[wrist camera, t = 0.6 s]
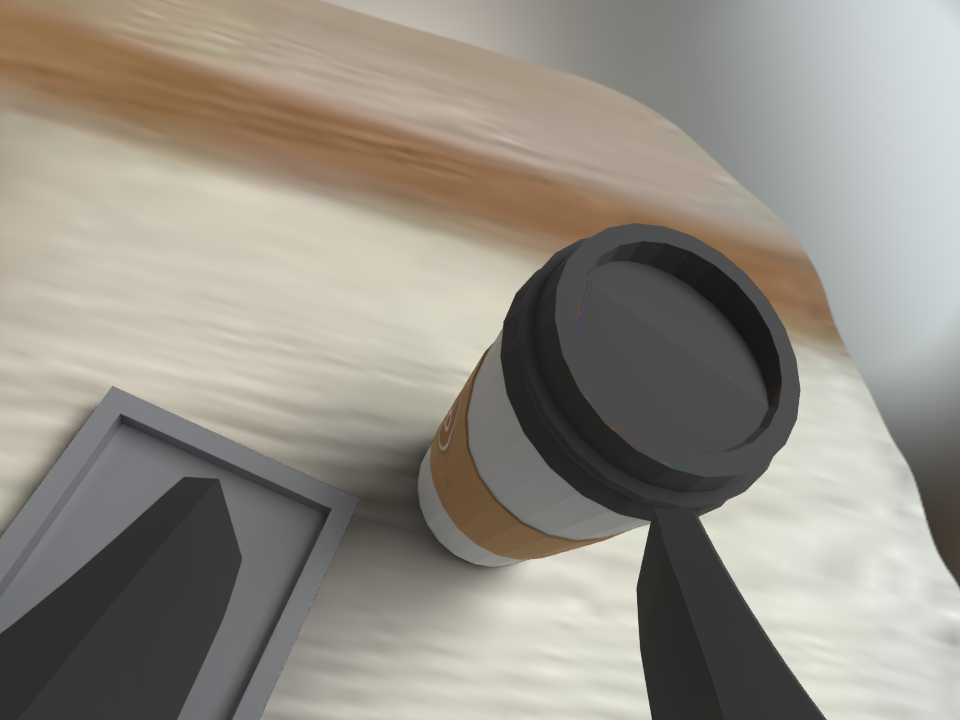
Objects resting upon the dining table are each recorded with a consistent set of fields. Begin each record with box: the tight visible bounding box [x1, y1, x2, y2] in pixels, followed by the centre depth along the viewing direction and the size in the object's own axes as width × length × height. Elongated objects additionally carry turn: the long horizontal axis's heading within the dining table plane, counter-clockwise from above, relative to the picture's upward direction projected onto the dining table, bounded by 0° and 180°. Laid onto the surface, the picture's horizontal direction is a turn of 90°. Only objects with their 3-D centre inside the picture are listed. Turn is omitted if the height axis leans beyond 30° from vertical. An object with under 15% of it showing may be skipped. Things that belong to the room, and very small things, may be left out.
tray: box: [0, 386, 359, 720], centre depth 23 cm, size 14×10×2 cm
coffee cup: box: [417, 223, 800, 567], centre depth 24 cm, size 8×8×15 cm
